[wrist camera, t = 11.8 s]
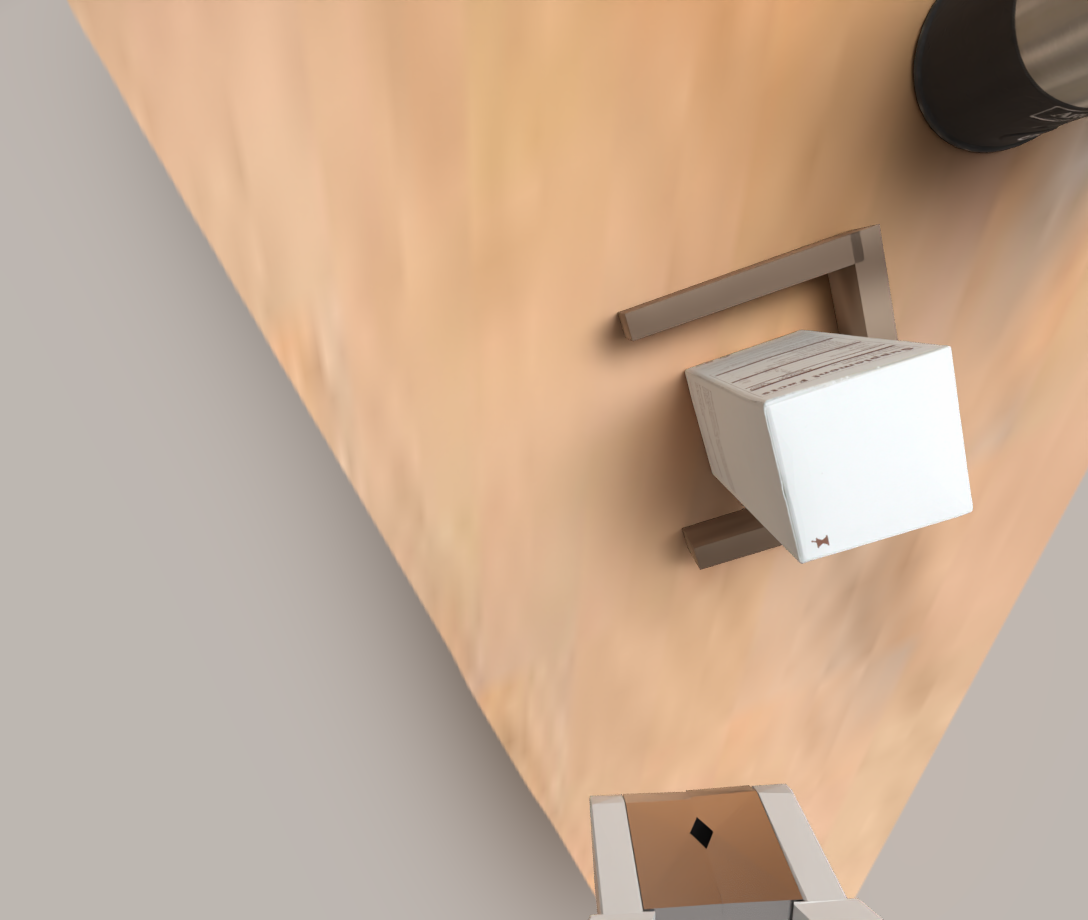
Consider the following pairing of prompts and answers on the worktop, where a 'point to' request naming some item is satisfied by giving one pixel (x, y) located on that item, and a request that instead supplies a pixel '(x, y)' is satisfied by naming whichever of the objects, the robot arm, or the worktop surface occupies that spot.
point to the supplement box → (835, 437)
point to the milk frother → (1002, 70)
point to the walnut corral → (843, 257)
